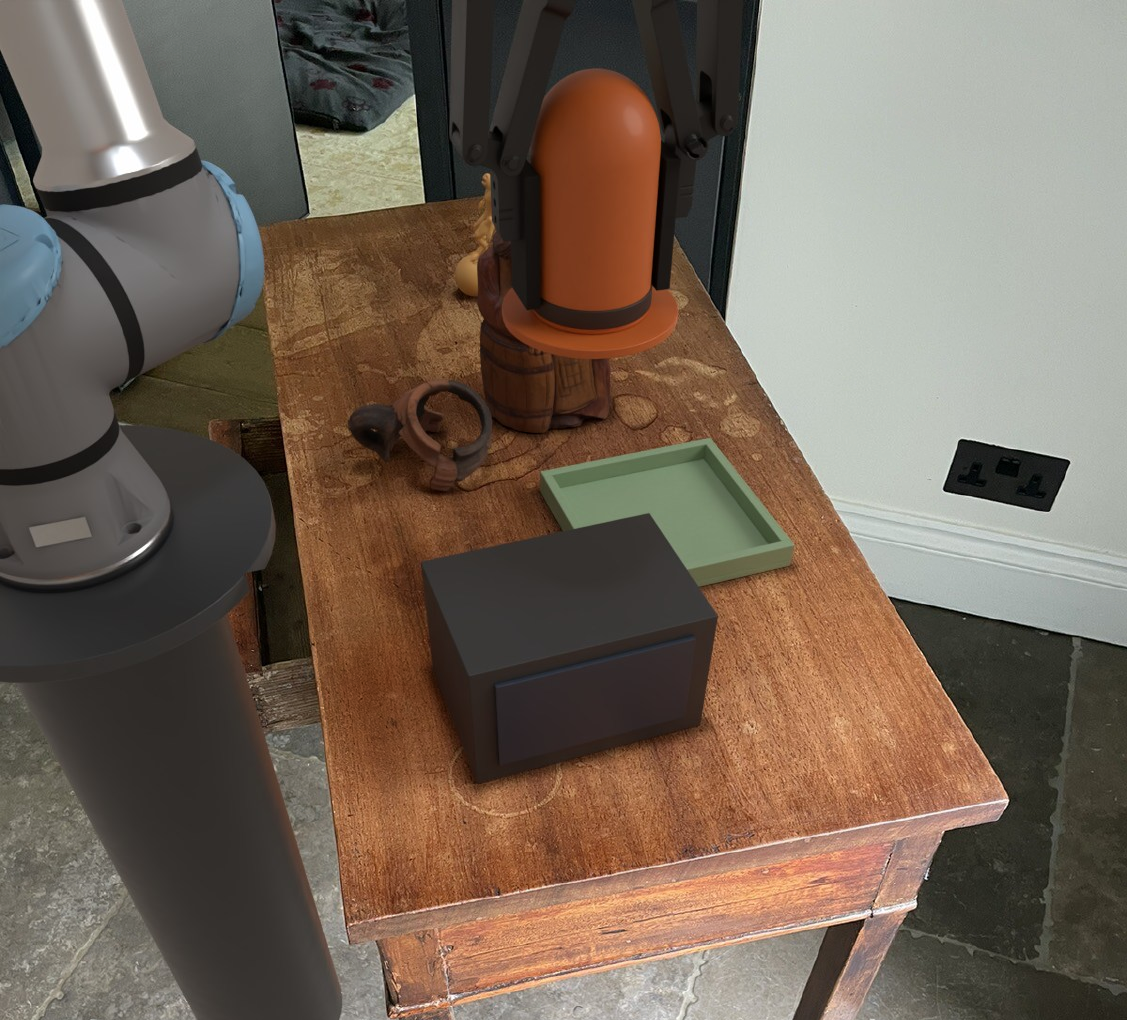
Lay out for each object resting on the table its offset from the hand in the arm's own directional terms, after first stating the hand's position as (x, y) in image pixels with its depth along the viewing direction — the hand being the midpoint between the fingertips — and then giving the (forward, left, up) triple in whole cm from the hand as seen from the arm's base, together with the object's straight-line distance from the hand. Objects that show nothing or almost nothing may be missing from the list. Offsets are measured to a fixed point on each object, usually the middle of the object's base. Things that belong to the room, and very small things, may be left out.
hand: (590, 287), depth 57 cm
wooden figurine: (-30, +8, -27) cm, 42 cm away
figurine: (-54, +9, -27) cm, 62 cm away
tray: (-11, +11, -27) cm, 31 cm away
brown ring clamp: (-26, -5, -27) cm, 38 cm away
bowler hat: (0, 0, -1) cm, 1 cm away
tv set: (+4, -3, -27) cm, 27 cm away
